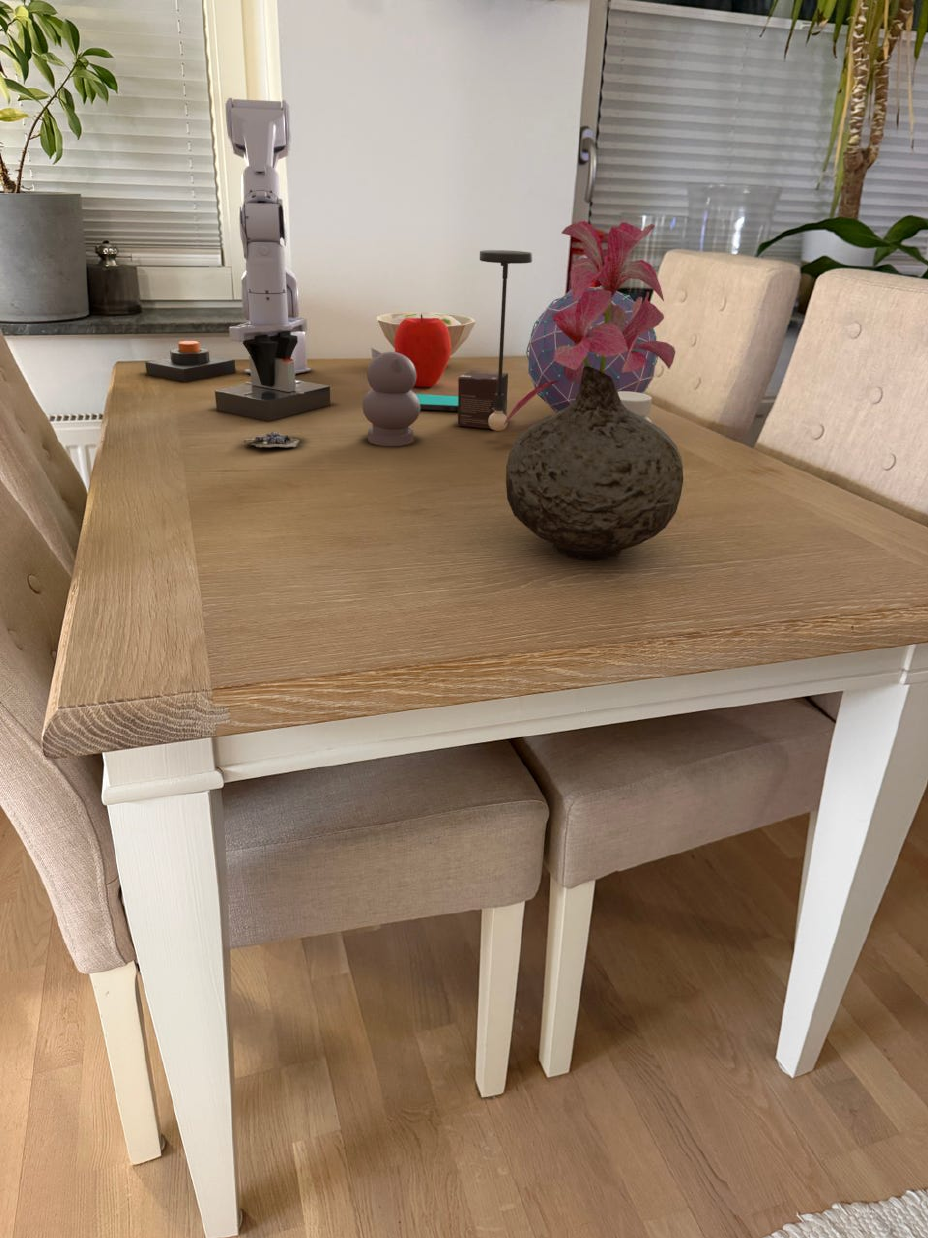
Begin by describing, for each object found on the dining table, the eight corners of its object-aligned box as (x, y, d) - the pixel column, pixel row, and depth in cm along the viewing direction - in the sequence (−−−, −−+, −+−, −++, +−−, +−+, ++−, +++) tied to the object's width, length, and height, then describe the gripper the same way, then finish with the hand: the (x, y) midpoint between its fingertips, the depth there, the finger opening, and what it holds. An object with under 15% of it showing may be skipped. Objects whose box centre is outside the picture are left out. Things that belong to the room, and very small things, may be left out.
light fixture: (468, 439, 126) (474, 249, 115) (513, 438, 127) (523, 250, 116) (479, 452, 120) (487, 253, 109) (526, 451, 122) (539, 254, 111)
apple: (441, 378, 164) (442, 309, 159) (457, 390, 156) (459, 317, 150) (388, 380, 161) (388, 309, 156) (402, 392, 153) (402, 317, 147)
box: (507, 421, 136) (509, 372, 133) (495, 430, 131) (497, 380, 128) (469, 417, 138) (471, 369, 135) (456, 426, 133) (457, 376, 130)
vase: (701, 549, 90) (752, 227, 77) (602, 600, 79) (641, 230, 66) (568, 509, 101) (593, 217, 87) (463, 548, 89) (473, 219, 76)
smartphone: (401, 393, 148) (491, 397, 147) (401, 398, 148) (491, 402, 147) (394, 403, 141) (489, 407, 140) (394, 408, 141) (489, 412, 140)
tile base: (277, 394, 148) (276, 375, 147) (333, 405, 143) (332, 385, 141) (213, 409, 138) (211, 388, 136) (271, 421, 132) (270, 400, 130)
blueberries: (233, 445, 120) (232, 431, 119) (280, 434, 125) (279, 421, 125) (265, 455, 116) (264, 441, 115) (312, 444, 122) (311, 430, 121)
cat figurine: (431, 444, 123) (432, 355, 118) (380, 451, 120) (379, 359, 114) (401, 430, 130) (401, 345, 124) (352, 436, 126) (350, 348, 121)
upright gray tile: (251, 385, 140) (248, 354, 138) (258, 383, 141) (256, 352, 139) (289, 392, 136) (287, 360, 134) (296, 390, 137) (294, 359, 135)
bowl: (387, 355, 184) (387, 304, 180) (480, 360, 182) (482, 308, 178) (365, 372, 167) (364, 316, 163) (467, 378, 165) (469, 322, 160)
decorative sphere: (610, 388, 120) (532, 272, 123) (550, 464, 138) (483, 360, 141) (709, 349, 129) (634, 241, 132) (641, 424, 147) (576, 328, 150)
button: (190, 349, 163) (189, 339, 162) (204, 352, 161) (203, 342, 160) (174, 352, 160) (173, 342, 159) (188, 354, 158) (187, 344, 157)
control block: (197, 364, 169) (195, 343, 167) (235, 371, 164) (233, 349, 162) (146, 374, 160) (143, 351, 158) (184, 381, 155) (182, 358, 153)
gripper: (251, 298, 125) (258, 395, 131) (320, 290, 136) (323, 380, 142) (215, 293, 128) (224, 388, 134) (286, 286, 139) (290, 374, 145)
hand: (273, 384), depth 139 cm, fingers closed
